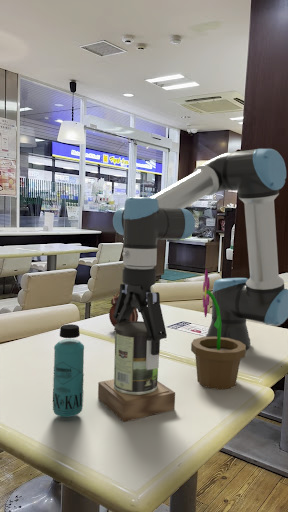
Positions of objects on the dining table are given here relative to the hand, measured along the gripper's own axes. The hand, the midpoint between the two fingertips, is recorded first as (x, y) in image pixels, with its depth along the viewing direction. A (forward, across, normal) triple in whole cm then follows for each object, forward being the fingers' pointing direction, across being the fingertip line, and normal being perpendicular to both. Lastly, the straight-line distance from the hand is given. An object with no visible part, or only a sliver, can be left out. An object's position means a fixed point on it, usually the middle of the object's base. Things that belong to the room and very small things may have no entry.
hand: (136, 358), depth 97 cm
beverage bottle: (+11, -1, -16) cm, 19 cm away
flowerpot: (+11, -2, +26) cm, 28 cm away
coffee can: (+7, 0, 0) cm, 7 cm away
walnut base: (+11, 0, 0) cm, 11 cm away
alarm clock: (+11, -56, +26) cm, 63 cm away
